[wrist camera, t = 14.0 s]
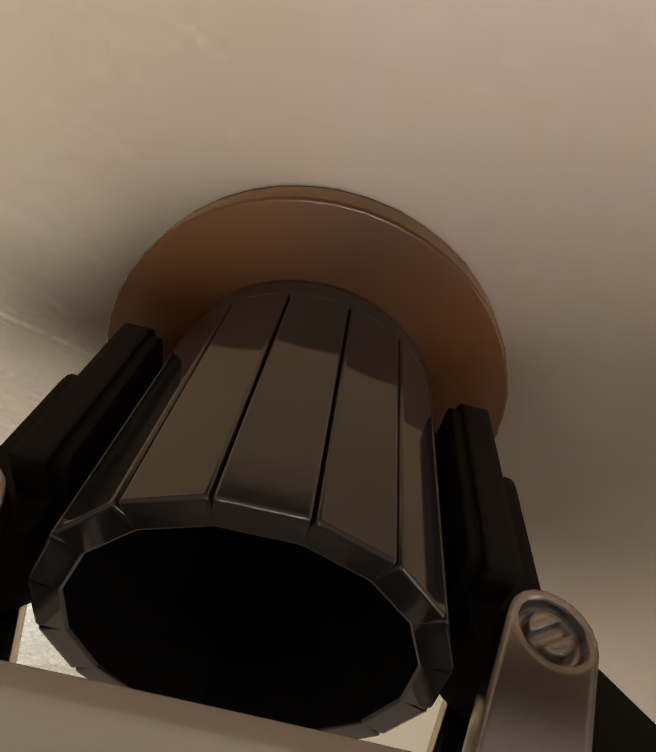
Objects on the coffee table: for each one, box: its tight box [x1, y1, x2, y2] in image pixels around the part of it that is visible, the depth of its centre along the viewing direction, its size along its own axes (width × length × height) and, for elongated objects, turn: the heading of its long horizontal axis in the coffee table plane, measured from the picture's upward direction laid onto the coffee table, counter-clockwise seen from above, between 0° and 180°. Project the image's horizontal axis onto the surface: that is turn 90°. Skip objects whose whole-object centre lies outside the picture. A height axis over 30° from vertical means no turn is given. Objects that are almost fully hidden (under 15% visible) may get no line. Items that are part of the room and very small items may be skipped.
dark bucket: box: [27, 281, 456, 739], centre depth 10 cm, size 6×7×6 cm
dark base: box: [108, 187, 508, 440], centre depth 12 cm, size 9×9×1 cm
